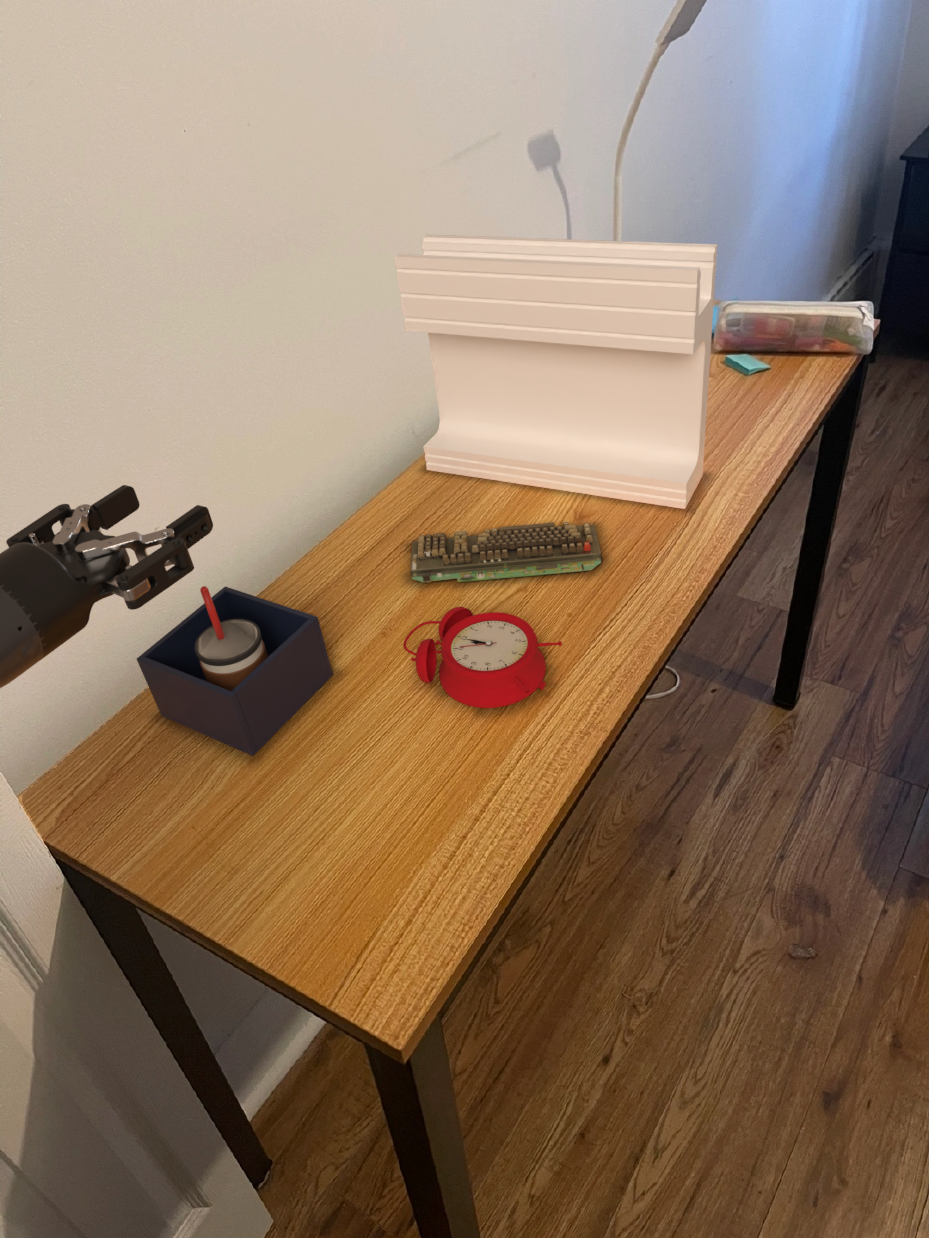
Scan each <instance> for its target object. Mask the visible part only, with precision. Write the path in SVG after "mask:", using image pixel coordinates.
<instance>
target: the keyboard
mask: <svg viewBox="0 0 929 1238" xmlns="http://www.w3.org/2000/svg"><path fill="white" fill-rule="evenodd" d="M417 537H418V539H417V540H412V541H411V542H412V543H411V544H412V546H411V555H410V556H411V557H410V566H409V568H410V577H411V580H414V581H417V582H420V584H428V583H429V584H430V583H438V582H446V581H447V582H448V581H453V580H456V581H457V582H458V583H472V582H473V583H475V582H480V581H492V580H507V579H511V578H512V579H516V578H527V577H530V578H531V577H539V576H553V575H559V574H560V575H561V574H562V575H563V574H576V573H581V572H583V573H584V572H585V573H586V572H590V571H593V570H594V569H595V568H597V567H599V566H600V565H601V564H602V563H603V558H604V556H603V555H602V550H601V546H600V540H599V537H598V533H597V529H596V525H595V524H589V523H583V525H577V524H575V523H574V524H570V523H569V521H563V522H562V525H556V526H555V522H553V521H549V522H544V523H543V522H542V523H529V524H517V525H508V526H507V525H506V526H499V527H498V528H496V527H494V528H491V529H489V528H486V529H485V528H484V530H483V532H479V533H477V535H476V534H475V535H473V534H472V535H468V532H467V530H458V531H454V532H453V537H447V535H446V533H445V532H436V533H433V534H431V533H428V534H425V535H424V534H420V535H418V536H417Z"/></svg>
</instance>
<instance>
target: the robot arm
mask: <svg viewBox="0 0 929 1238" xmlns="http://www.w3.org/2000/svg"><path fill="white" fill-rule="evenodd" d="M139 508H140V500H139V498H138V495H137V493H136V490H135V488H134V487H133V486H130V485H127V484H122V485H121V486H119V487H117V488H116V489H114V490H113V491H111V492H110V493H108V494H106V495H105V496H104V497H102V498H100V499H98V500H97V501H96V502H93V503H92V504H87V503H86V504H85V503H84V504H80V505H79V506H77V507H76V508H75V509H74V508H71V505H70V504H68V503H61V504H58V505H57V506H55V507H54V508H52V509H51V510H50V511H48V512H46V513H45V514H43V515H42V516H39V517H38V518H37V519H36V520H34V521H33V522H31V523H29V524H27V526H25V527H24V528H22V529H21V530H19V531H17V532H16V533H15V534H13V535H11V536H10V537H8V538H7V539H6V542H5V543H6V545H7V548H6V549H4V550H3V551H1V552H0V689H2V688H4V687H5V686H7V685H9V684H10V683H11V682H13V681H15V680H16V679H18V678H19V677H20V676H22V674H24V673H26V671H29V669H31V668H32V667H33V666H34V665H36V664H37V663H38V662H40V661H41V660H43V659H44V658H46V657H47V656H49V654H51V653H53V652H54V651H55V650H56V649H58V648H59V647H60V646H62V645H63V644H64V643H66V642H67V641H69V640H70V639H72V638H73V637H74V636H75V635H77V634H78V633H80V632H81V631H82V630H84V629H85V628H86V627H87V625H88V624H89V620H90V618H91V617H90V616H91V612H92V610H93V609H92V608H93V606H94V605H95V603H97V602H99V601H101V600H104V599H106V598H108V597H111V596H113V595H116V596H118V597H121V598H123V600H124V603H125V605H126V607H127V609H128V610H131V611H132V610H138V609H140V608H142V607H143V606H145V605H146V604H147V603H149V602H150V601H152V600H153V599H155V598H156V597H157V596H159V595H160V594H161V593H163V592H164V591H166V590H167V589H169V588H170V587H171V586H173V585H175V584H176V583H177V582H179V581H180V580H182V579H183V578H184V577H186V576H187V575H189V574H190V573H191V572H193V571H194V570H195V565H194V563H193V560H192V557H191V555H190V552H189V549H191V548H192V547H193V546H195V545H196V544H197V543H199V542H200V541H201V540H203V539H204V538H205V537H207V536H208V535H210V533H211V532H212V531H213V529H214V522H213V520H212V516H211V514H210V510H209V508H208V507H207V506H203V505H200V504H197V505H195V506H193V507H192V508H191V509H189V510H188V511H186V512H185V513H183V514H182V515H181V516H179V517H178V518H176V519H175V520H174V521H172V522H171V523H170V524H168V525H166V526H165V528H163V529H159V530H156V531H153V532H150V533H145V534H142V533H140V532H138V531H131V532H127V533H124V534H120V535H117V536H115V535H109V534H108V535H106V534H104V533H102V530H105V531H109V530H110V529H111V528H113V527H114V526H116V525H117V524H119V523H120V522H122V520H124V519H126V518H127V517H129V516H131V515H132V514H134V513H135V512H137V511H138V510H139ZM57 523H60V527H61V528H60V530H59V531H58V532H57V533H55V532H54V530H53V526H54V525H55V524H57ZM101 529H102V530H101ZM159 545H161V547H159V548H157V549H156V550H154V551H153V552H151V553H150V554H148V550H147V549H149V548H151V547H152V548H153V547H157V546H159ZM127 549H129V550H132V551H133V552H134V555H135V557H136V560H137V562H136V563H135V564H134V565H132V564H131V559H130V556H129V553H128V551H127ZM170 566H171V567H170ZM166 567H170V568H168V569H167V568H166Z"/></svg>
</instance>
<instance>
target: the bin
mask: <svg viewBox="0 0 929 1238" xmlns="http://www.w3.org/2000/svg"><path fill="white" fill-rule="evenodd" d="M211 598H212V601H213V604H214V607H215V610H216V612H217V615H218V618H219V621H220V622H222V621H225V620H230V619H245V620H249V621H251V622H253V623H255V624H256V625H257V626H258V627H259V629H260V632H261V636H262V640H263V642H264V645H265V648H266V651H267V654H268V658H266V659H265V660H264V661H263V662H262V663H261V664H260V665H259V666H258V667H257V668H256V669H255V670H254V671H252V672H251V673H250V674H249V675H248V676H247V677H246V678H245V679H244V680H243V681H242V682H241V683H240V684H238V685H237V686H236V687H235V688H234V689H233V690H232V692H231V691H229V690H226V689H224V688H221V687H219V686H216V685H214V684H211V683H209V682H207V680H206V678H205V675H204V673H203V670H202V668H201V665H200V660H199V658H198V657H197V655H196V652H195V642H196V640H197V638H198V637H199V635H200V634H201V633H202V632H203V631H205V630H206V629H207V628H209V627H210V626H212V622H211V619H210V616H209V614H208V611H207V608H206V605H205V603H203V604H202V605H200V606H199V607H198V608H197V609H195V610H194V611H193V612H192V613H190V614H189V615H188V616H187V617H186V618H184V619H183V620H181V622H180V623H178V624H177V625H175V626H174V628H172V629H170V631H168V632H167V633H166V634H165V635H163V636H162V637H161V638H160V639H159V640H157V641H156V642H155V643H154V644H152V645H151V646H150V647H149V648H147V649H146V650H145V651H143V653H141V654H140V655H139V656H138V657H137V658H136V661H137V664H138V666H139V669H140V671H141V673H142V675H143V677H144V679H145V681H146V685H147V686H148V688H149V691H150V693H151V695H152V698H153V700H154V702H155V704H156V707H157V710H159V714H160V716H161V717H163V718H164V719H167V720H170V721H172V722H174V723H176V724H179V725H181V726H183V727H186V728H188V729H190V730H192V731H194V732H196V733H199V734H201V735H204V736H205V737H208V738H211V739H213V740H215V741H218V742H220V743H222V744H223V745H227V746H229V747H231V748H233V749H236V750H238V751H240V752H243V753H245V754H247V755H249V756H251V757H254V756H256V754H257V753H258V752H260V751H261V749H262V748H263V747H264V746H265V745H266V744H267V743H268V742H269V741H270V740H272V738H273V737H274V736H275V734H277V733H278V732H279V731H280V730H281V729H282V728H283V727H284V725H285V724H287V722H289V720H290V719H291V718H292V717H294V715H296V713H297V712H299V710H301V708H303V706H304V705H305V704H306V703H307V702H309V700H311V698H312V697H313V696H314V695H315V694H316V693H317V692H318V691H319V690H320V689H321V688H322V687H323V686H324V685H325V684H326V683H327V682H328V681H329V680H330V679H331V678H332V677H333V676H334V673H333V668H332V666H331V662H330V661H331V660H330V658H329V654H328V650H327V647H326V646H327V645H326V643H325V639H324V635H323V631H322V628H321V624H320V620H319V617H318V616H317V615H314V614H311V613H308V612H304V611H302V610H299V609H296V608H292V607H289V606H286V605H283V604H280V603H277V602H274V601H272V600H268V599H265V598H262V597H259V596H255V595H253V594H249V593H247V592H243V591H240V590H238V589H235V588H232V587H228V586H223V587H222V588H221V589H220V590H219V591H217V592H216V593H215V594H214V595H212V596H211Z"/></svg>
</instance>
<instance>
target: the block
mask: <svg viewBox="0 0 929 1238" xmlns="http://www.w3.org/2000/svg"><path fill="white" fill-rule="evenodd" d="M421 248H422V251H423V254H411V253H410V254H409V253H397V254H396V255H395V256H394V263H395V268H396V269H397V271H396V276H397V284H398V291H399V293H400V303H401V309H402V317H404V320H403V323H404V331H406V332H417V333H418V332H419V333H427V335H428V342H429V348H430V357H431V364H432V371H433V379H434V385H435V393H436V400H437V401H436V402H437V408H438V416H439V425H438V428H437V431H436V432H435V434H434V435H433V436H432V437H431V438H430V439H429V440H428V441H427V442H426V443H425V444H424V445H423V446H422V448H423V453H425V454H424V461H425V462H426V463H425V467H426V471H431V472H439V473H445V474H450V475H451V474H452V475H458V476H464V477H465V476H466V477H470V478H471V477H472V478H479V479H484V480H491V481H497V482H504V483H510V484H518V485H523V486H524V485H525V486H531V487H538V488H545V489H550V490H556V491H564V492H571V493H577V494H582V495H591V496H596V497H603V498H610V499H617V500H621V501H623V500H624V501H628V502H629V501H630V502H636V503H643V504H650V505H656V506H662V507H669V508H676V509H681V510H686V509H687V506H688V505H689V502H691V501H690V500H691V499H692V497H693V495H694V493H695V491H696V489H697V487H698V485H699V483H700V482H701V480H702V479H703V475H704V460H705V445H706V444H705V443H706V431H707V430H706V429H707V414H708V400H709V382H710V366H711V351H712V338H713V337H712V334H713V320H714V307H715V306H714V305H715V289H716V274H717V257H718V244H717V243H689V242H688V243H687V242H662V241H661V242H659V241H633V240H632V241H630V240H629V241H628V240H598V239H573V238H542V237H541V238H540V237H512V236H511V237H509V236H483V235H482V236H481V235H456V234H455V235H454V234H453V235H452V234H451V235H450V234H425V235H424V236H423V237H422V241H421Z"/></svg>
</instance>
